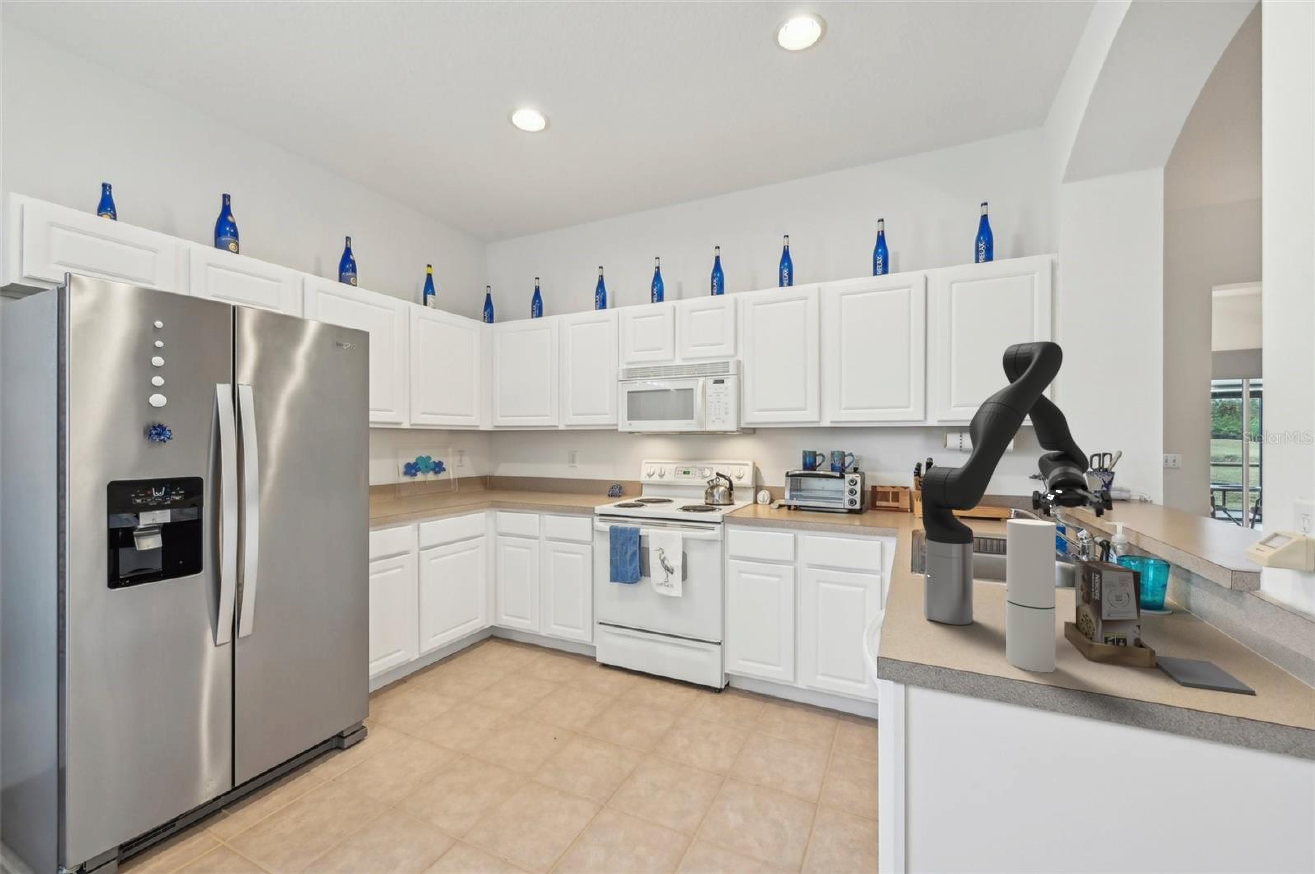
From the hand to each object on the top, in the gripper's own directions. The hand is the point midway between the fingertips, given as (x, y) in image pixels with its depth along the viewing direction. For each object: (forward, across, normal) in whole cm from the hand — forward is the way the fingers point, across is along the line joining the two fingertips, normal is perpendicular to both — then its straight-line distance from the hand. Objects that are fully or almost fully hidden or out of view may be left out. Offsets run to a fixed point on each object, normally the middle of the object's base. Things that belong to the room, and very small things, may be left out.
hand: (1073, 513), depth 118 cm
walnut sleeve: (+22, +3, +19) cm, 29 cm away
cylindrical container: (+36, -9, +14) cm, 40 cm away
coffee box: (+22, +3, +19) cm, 29 cm away
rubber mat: (+26, +14, +18) cm, 35 cm away
